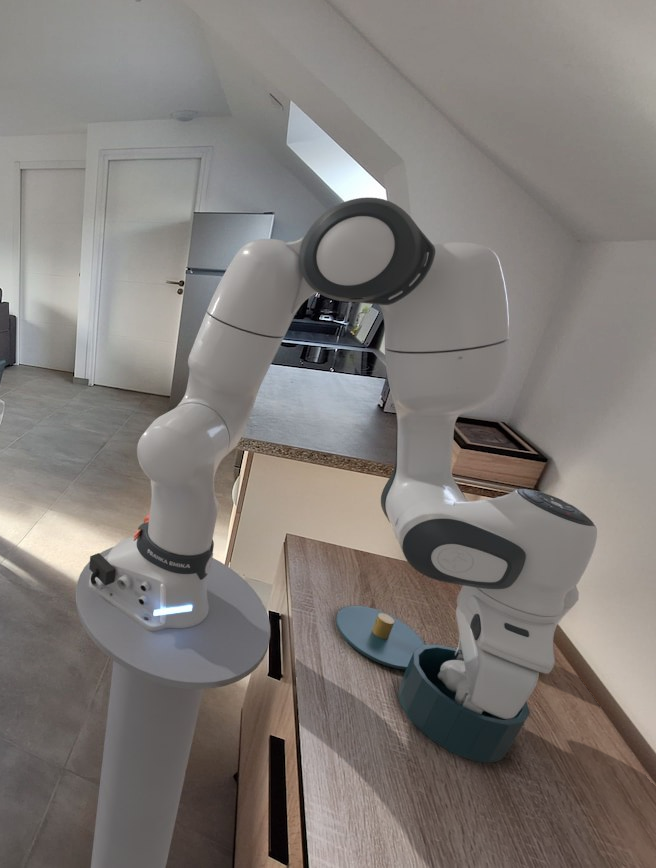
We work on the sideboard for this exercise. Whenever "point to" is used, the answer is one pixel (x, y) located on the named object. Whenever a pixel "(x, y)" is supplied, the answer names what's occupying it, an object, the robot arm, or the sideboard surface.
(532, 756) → the sideboard surface
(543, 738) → the sideboard surface
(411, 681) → the tin
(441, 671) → the pale two-lobed sculpture
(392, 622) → the tin lid
